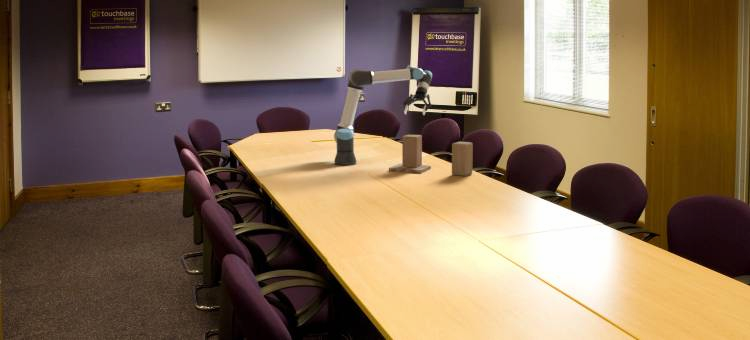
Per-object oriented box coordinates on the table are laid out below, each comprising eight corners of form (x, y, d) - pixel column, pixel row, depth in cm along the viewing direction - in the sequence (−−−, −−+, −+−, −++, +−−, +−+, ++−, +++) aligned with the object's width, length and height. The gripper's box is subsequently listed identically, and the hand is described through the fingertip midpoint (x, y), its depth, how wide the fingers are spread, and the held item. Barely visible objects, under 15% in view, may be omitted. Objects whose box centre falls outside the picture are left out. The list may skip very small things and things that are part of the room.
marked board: (389, 171, 452) (389, 168, 451) (399, 166, 468) (399, 163, 468) (421, 173, 443) (421, 170, 442) (430, 168, 459) (430, 165, 459)
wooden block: (416, 167, 451) (416, 136, 447) (402, 166, 455) (402, 136, 451) (422, 165, 460) (422, 135, 456) (407, 164, 464) (407, 134, 460)
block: (458, 172, 445) (459, 141, 441) (472, 174, 439) (473, 142, 436) (451, 175, 437) (451, 143, 433) (465, 176, 431) (465, 144, 427)
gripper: (440, 93, 485) (432, 117, 474) (407, 93, 496) (398, 116, 485) (437, 86, 479) (429, 110, 469) (404, 86, 490) (395, 109, 479)
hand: (414, 113), depth 477 cm, fingers open, 13 cm apart
